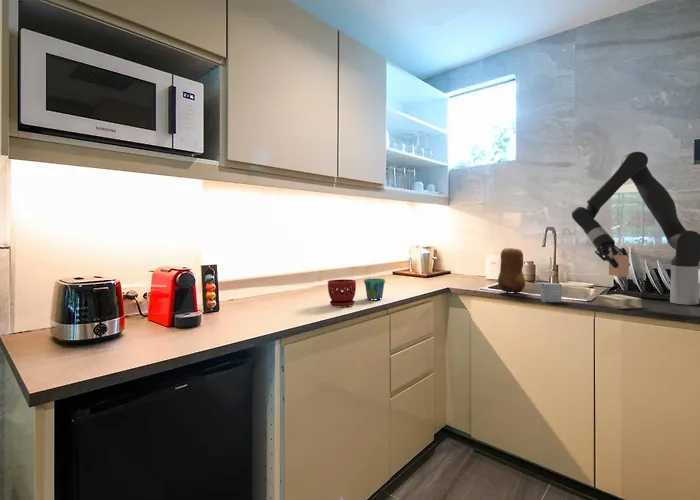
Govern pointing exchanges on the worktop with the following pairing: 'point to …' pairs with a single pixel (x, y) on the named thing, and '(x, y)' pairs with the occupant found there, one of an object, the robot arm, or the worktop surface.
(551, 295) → the medicine box
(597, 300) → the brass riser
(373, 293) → the blue green flowerpot
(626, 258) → the terracotta block
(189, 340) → the worktop surface
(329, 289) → the plant pot
